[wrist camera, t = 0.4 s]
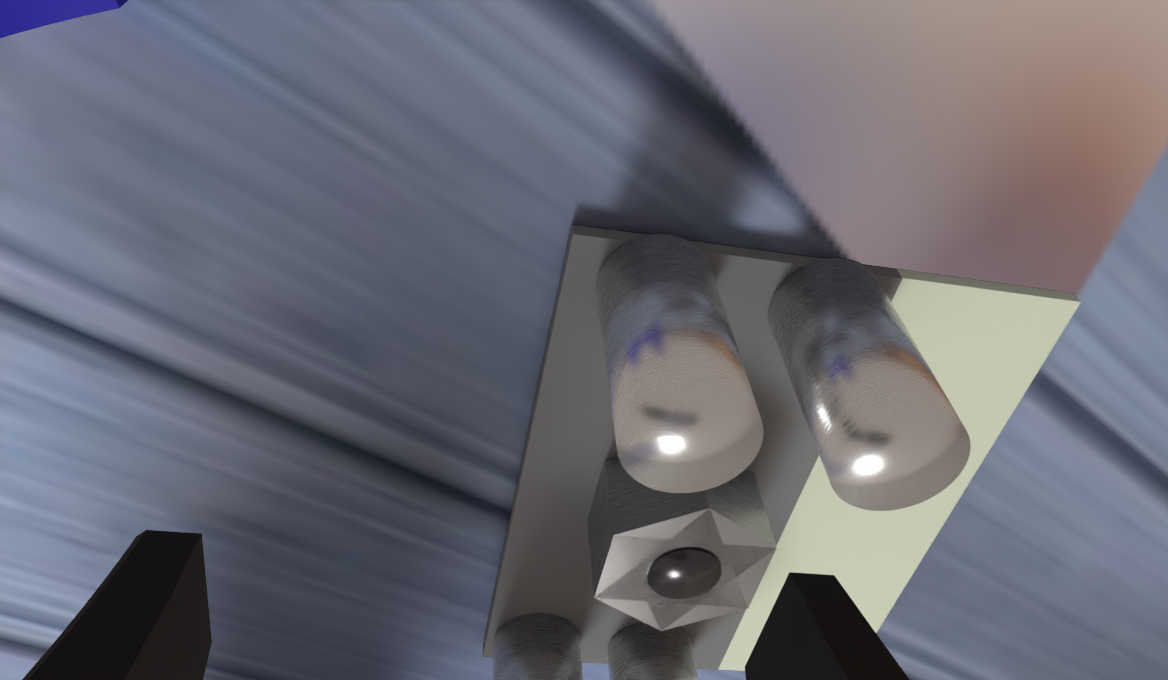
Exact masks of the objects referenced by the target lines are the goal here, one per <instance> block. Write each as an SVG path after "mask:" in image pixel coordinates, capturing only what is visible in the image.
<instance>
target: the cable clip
mask: <svg viewBox="0 0 1168 680" xmlns="http://www.w3.org/2000/svg"><path fill="white" fill-rule="evenodd" d="M127 1H128V0H0V38H2V37H5V36H9V35H12V34H16V33H19V32H23V31H26V30H30V29H34V28H37V27H41V26H45V25H49V24H53V23H57V22H61V21H65V20H68V19H72V18H77V17H81V16H85V15H90V14H94V13H99V12H103V11H108V10H113V9H118V8H120V7H121V6H122V5H123V4H124V3H126V2H127Z"/></svg>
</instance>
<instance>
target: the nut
mask: <svg viewBox="0 0 1168 680" xmlns="http://www.w3.org/2000/svg"><path fill="white" fill-rule="evenodd" d="M587 525H588V536H589V547H590V558H591V569H592V580H593V591H594V598H596V599H598V600H600V601H602V602H604V603H606V604H608V605H610V606H612V607H614V608H616V609H618V610H620V611H622V612H624V613H626V614H628V615H630V616H632V617H634V618H636V619H638V620H640V621H642V622H644V623H646V624H648V625H650V626H652V627H654V628H656V629H658V630H660V631H664V630H667V629H671V628H675V627H679V626H683V625H686V624H690V623H694V622H698V621H702V620H705V619H709V618H713V617H717V616H721V615H724V614H728V613H732V612H736V611H740V610H743V609H747V608H749V606H750V603H751V601H752V599H753V597H754V595H755V593H756V591H757V589H758V587H759V584H760V582H761V580H762V578H763V576H764V574H765V572H766V570H767V567H768V565H769V563H770V561H771V559H772V557H773V555H774V553H775V551H776V544H775V541H774V538H773V534H772V531H771V528H770V524H769V521H768V518H767V514H766V511H765V508H764V504H763V501H762V498H761V494H760V491H759V488H758V484H757V481H756V478H755V474H754V473H753V472H751V471H750V470H748V469H747V468H746V469H745V470H744V471H743V472H741V473H740V474H739V475H737V476H736V477H735V478H733V479H731V480H730V481H728V482H726V483H724V484H722V485H719V486H717V487H714V488H711V489H708V490H704V491H699V492H692V493H669V492H663V491H658V490H655V489H652V488H649V487H647V486H645V485H643V484H641V483H639V482H638V481H636V480H635V479H633V478H632V477H631V476H630V475H629V474H628V473H627V472H626V470H625V469H624V468H623V466H622V464H621V463H620V460H619V457H618V456H614V457H611V458H607V459H605V460H604V463H603V467H602V470H601V474H600V477H599V481H598V484H597V488H596V492H595V495H594V499H593V502H592V506H591V509H590V513H589V516H588V520H587Z"/></svg>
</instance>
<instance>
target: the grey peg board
mask: <svg viewBox="0 0 1168 680" xmlns="http://www.w3.org/2000/svg"><path fill="white" fill-rule="evenodd" d="M595 292H596V300H597V307H598V314H599V322H600V329H601V336H602V343H603V351H604V358H605V365H606V373H607V380H608V387H609V394H610V402H611V409H612V416H613V424H614V431H615V438H616V445H617V452H618V457H619V460H620V463H621V464H622V466H623V468H624V469H625V470H626V472H627V473H628V474H629V475H630V476H631V477H632V478H633V479H635V480H636V481H638V482H639V483H641V484H643V485H645V486H647V487H649V488H652V489H655V490H658V491H663V492H669V493H692V492H699V491H704V490H708V489H711V488H714V487H717V486H719V485H722V484H724V483H726V482H728V481H730V480H731V479H733V478H735V477H736V476H737V475H739V474H740V473H741V472H743V471H744V470H745V469H746V468H747V467H748V466H749V465H750V464H751V463H752V461H753V460H754V458H755V457H756V456H757V454H758V452H759V450H760V447H761V444H762V441H763V424H762V419H761V416H760V413H759V410H758V407H757V404H756V401H755V398H754V395H753V392H752V389H751V386H750V383H749V380H748V377H747V374H746V371H745V368H744V365H743V362H742V359H741V356H740V353H739V350H738V347H737V344H736V341H735V338H734V335H733V332H732V329H731V326H730V323H729V319H728V316H727V313H726V310H725V307H724V304H723V301H722V298H721V295H720V292H719V289H718V286H717V283H716V280H715V277H714V274H713V271H712V268H711V265H710V263H709V260H708V259H707V257H706V255H705V254H704V253H703V252H702V251H701V249H699V248H698V247H697V246H696V245H695V244H693V243H692V242H690V241H688V240H686V239H684V238H681V237H678V236H674V235H669V234H650V235H644V236H640V237H636V238H634V239H631V240H629V241H627V242H625V243H623V244H622V245H620V246H619V247H617V248H616V249H615V250H614V251H613V252H611V253H610V254H609V256H608V257H607V258H606V259H605V260H604V262H603V263H602V265H601V267H600V269H599V271H598V274H597V277H596V283H595ZM768 323H769V326H770V329H771V331H772V334H773V337H774V339H775V342H776V344H777V347H778V350H779V352H780V355H781V357H782V360H783V362H784V365H785V368H786V370H787V373H788V375H789V378H790V381H791V383H792V386H793V388H794V391H795V393H796V396H797V399H798V401H799V404H800V406H801V409H802V412H803V414H804V417H805V419H806V422H807V424H808V427H809V430H810V432H811V435H812V437H813V440H814V443H815V445H816V448H817V450H818V453H819V455H820V458H821V461H822V463H823V466H824V468H825V471H826V473H827V476H828V479H829V481H830V484H831V486H832V488H833V490H834V492H835V493H836V494H837V495H838V497H839V498H841V499H842V500H843V501H844V502H846V503H848V504H850V505H852V506H855V507H857V508H861V509H865V510H872V511H890V510H897V509H902V508H907V507H910V506H913V505H916V504H919V503H921V502H924V501H926V500H928V499H930V498H932V497H934V496H935V495H937V494H939V493H940V492H942V491H943V490H944V489H946V488H947V487H948V486H949V485H950V484H951V483H952V482H954V481H955V479H956V478H957V477H958V476H959V475H960V473H961V472H962V470H963V469H964V467H965V465H966V463H967V461H968V458H969V455H970V449H971V445H970V438H969V435H968V433H967V430H966V429H965V427H964V425H963V424H962V422H961V420H960V418H959V417H958V415H957V413H956V412H955V410H954V408H953V407H952V405H951V403H950V401H949V400H948V398H947V396H946V395H945V393H944V391H943V390H942V388H941V386H940V384H939V383H938V381H937V379H936V378H935V376H934V374H933V372H932V371H931V369H930V367H929V366H928V364H927V362H926V361H925V359H924V357H923V355H922V354H921V352H920V350H919V349H918V347H917V345H916V344H915V342H914V340H913V338H912V337H911V335H910V333H909V332H908V330H907V328H906V327H905V325H904V323H903V321H902V320H901V318H900V316H899V315H898V313H897V311H896V310H895V308H894V306H893V304H892V303H891V301H890V299H889V298H888V296H887V294H886V293H885V291H884V289H883V287H882V286H881V284H880V282H879V281H878V279H877V277H876V276H875V275H874V273H873V272H872V271H871V270H870V269H869V268H867V267H866V266H865V265H863V264H861V263H859V262H856V261H853V260H850V259H845V258H828V259H822V260H818V261H814V262H811V263H809V264H806V265H804V266H802V267H800V268H798V269H797V270H795V271H794V272H792V273H791V274H790V275H788V276H787V277H786V278H785V279H784V280H783V281H782V282H781V283H780V284H779V286H778V287H777V288H776V290H775V291H774V293H773V295H772V297H771V299H770V302H769V306H768ZM607 655H608V665H609V675H610V680H698V675H697V670H696V664H695V659H694V653H693V648H692V643H691V638H690V635H689V634H688V632H687V631H686V630H685V629H683V628H682V627H680V626H679V627H675V628H671V629H667V630H664V631H660V630H658V629H656V628H654V627H652V626H650V625H648V624H646V623H644V622H638V623H635V624H632V625H629V626H627V627H625V628H623V629H621V630H620V631H618V632H617V633H616V634H614V636H613V637H612V638H611V639H610V641H609V643H608V646H607ZM493 680H583V674H582V660H581V647H580V635H579V631H578V629H577V628H576V626H575V625H574V624H573V623H571V622H570V621H569V620H567V619H565V618H563V617H560V616H557V615H553V614H547V613H531V614H525V615H521V616H518V617H515V618H513V619H510V620H509V621H507V622H505V623H504V624H502V625H501V626H500V627H499V628H498V630H497V631H496V633H495V635H494V639H493Z"/></svg>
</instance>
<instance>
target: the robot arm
mask: <svg viewBox="0 0 1168 680" xmlns="http://www.w3.org/2000/svg"><path fill="white" fill-rule="evenodd" d="M211 642H212V641H211V630H210V619H209V608H208V598H207V587H206V576H205V565H204V555H203V544H202V534H198V533H182V532H167V531H152V530H146V531H144V532H143V533H141V534H139V535H138V536H137V537H136V538H135V539H134V541H133V542H132V543H131V545H130V546H129V548H128V549H127V550H126V552H125V553H124V555H123V556H122V557H121V559H120V560H119V561H118V563H117V564H116V565H115V567H114V568H113V569H112V571H111V572H110V573H109V575H108V576H107V577H106V579H105V580H104V581H103V583H102V584H101V585H100V586H99V588H98V589H97V590H96V592H95V593H94V594H93V595H92V597H91V598H90V599H89V600H88V602H87V603H86V604H85V606H84V607H83V608H82V609H81V610H80V612H79V613H78V614H77V615H76V617H75V618H74V619H73V620H72V622H71V623H70V624H69V625H68V626H67V628H66V629H65V630H64V631H63V633H62V634H61V635H60V636H59V638H58V639H57V640H56V641H55V642H54V643H53V645H52V646H51V647H50V648H49V649H48V650H47V652H46V653H45V654H44V655H43V656H42V657H41V659H40V660H39V661H38V662H37V663H36V664H35V666H34V667H33V668H32V669H31V670H30V671H29V673H28V674H27V675H26V676H25V677H24V678H23V679H22V680H203V677H204V673H205V668H206V664H207V659H208V655H209V651H210V646H211ZM745 673H746V680H909V678H908V677H907V676H906V674H905V673H904V672H903V670H902V669H901V667H900V666H899V665H898V663H897V662H896V660H895V659H894V658H893V656H892V655H891V654H890V652H889V651H888V649H887V648H886V647H885V645H884V644H883V642H882V641H881V640H880V638H879V637H878V635H877V634H876V633H875V631H874V630H873V628H872V627H871V626H870V624H869V623H868V621H867V620H866V619H865V617H864V616H863V614H862V613H861V612H860V610H859V609H858V607H857V606H856V605H855V603H854V602H853V601H852V599H851V598H850V596H849V595H848V594H847V592H846V591H845V589H844V588H843V587H842V585H841V584H840V583H839V581H838V580H837V578H836V577H835V576H834V575H824V574H809V573H793V572H789V574H788V576H787V579H786V581H785V583H784V585H783V587H782V589H781V591H780V593H779V596H778V598H777V600H776V602H775V604H774V606H773V608H772V610H771V612H770V615H769V617H768V619H767V621H766V623H765V625H764V627H763V629H762V632H761V634H760V636H759V638H758V640H757V642H756V644H755V646H754V648H753V651H752V653H751V655H750V657H749V659H748V661H747V663H746V665H745Z"/></svg>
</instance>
